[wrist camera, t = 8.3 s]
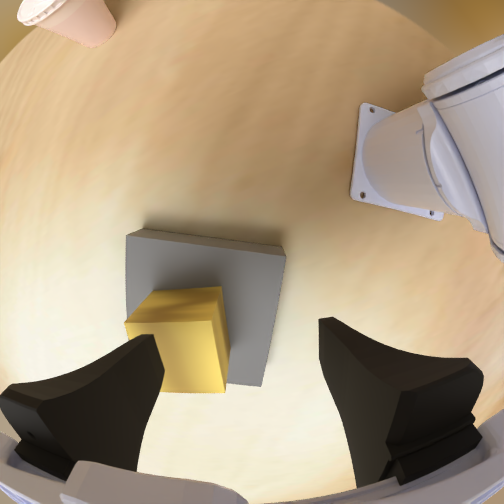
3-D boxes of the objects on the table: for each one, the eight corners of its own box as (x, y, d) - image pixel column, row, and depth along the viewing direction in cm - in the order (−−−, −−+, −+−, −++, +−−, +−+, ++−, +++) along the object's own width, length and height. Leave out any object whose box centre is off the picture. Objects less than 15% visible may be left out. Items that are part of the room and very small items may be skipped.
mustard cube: (221, 286, 18) (211, 320, 13) (230, 348, 19) (225, 392, 15) (152, 290, 18) (124, 322, 14) (167, 350, 20) (147, 390, 15)
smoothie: (83, 71, 17) (-19, 18, 3) (67, 38, 16) (-15, -12, 2) (138, 28, 16) (64, -60, 3) (117, 0, 15) (53, -72, 1)
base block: (280, 245, 21) (286, 256, 18) (260, 362, 24) (261, 386, 20) (144, 227, 21) (126, 235, 17) (144, 343, 23) (131, 364, 20)
